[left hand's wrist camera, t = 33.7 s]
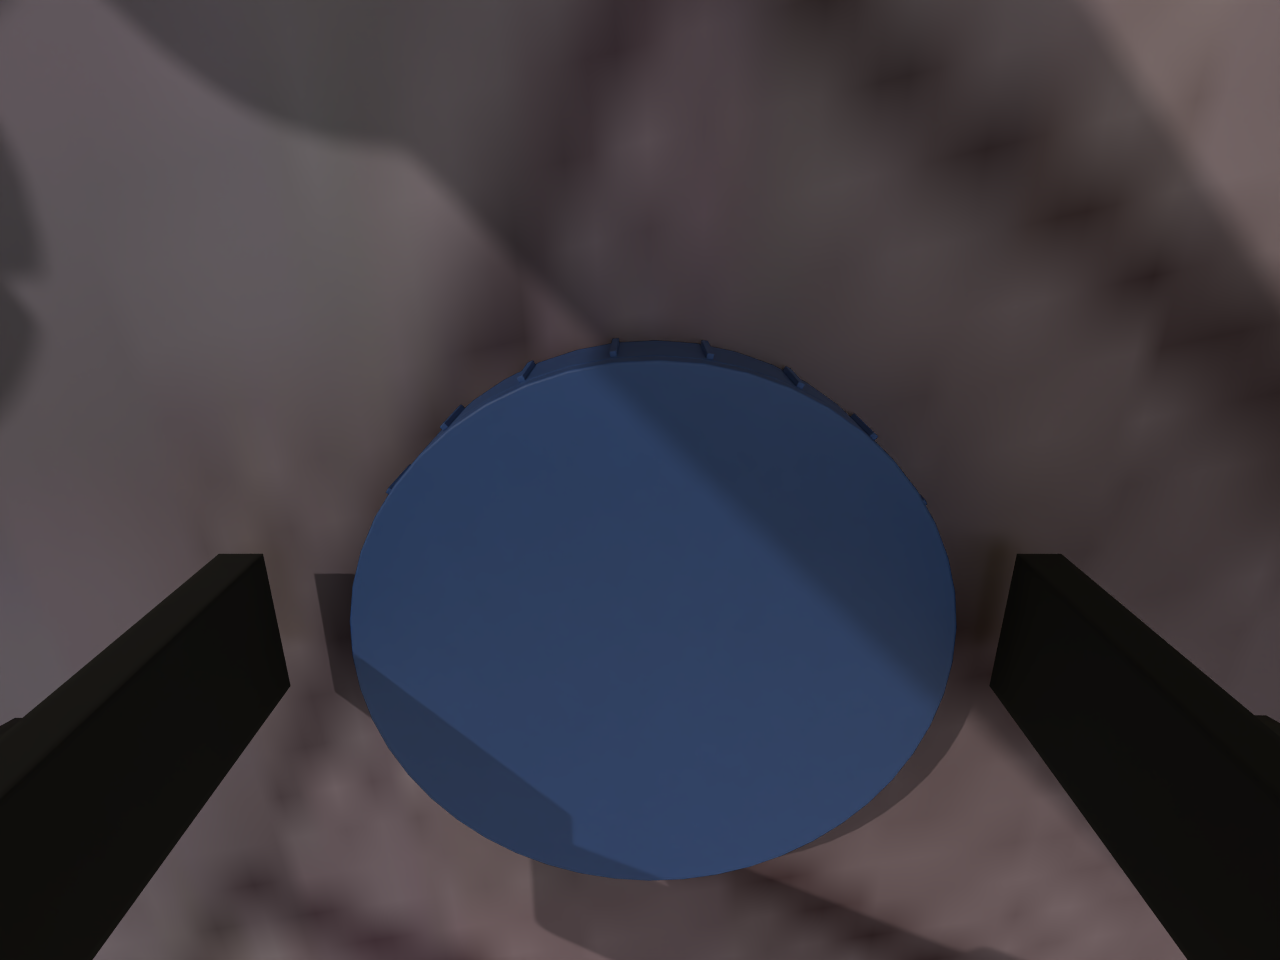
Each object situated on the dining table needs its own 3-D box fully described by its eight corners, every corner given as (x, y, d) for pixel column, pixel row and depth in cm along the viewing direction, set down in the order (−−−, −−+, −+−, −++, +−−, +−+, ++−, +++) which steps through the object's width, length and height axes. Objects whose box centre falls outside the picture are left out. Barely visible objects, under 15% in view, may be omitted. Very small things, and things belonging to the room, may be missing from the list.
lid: (446, 835, 16) (424, 905, 14) (315, 374, 12) (266, 398, 11) (918, 792, 15) (949, 860, 14) (927, 299, 12) (971, 313, 10)
